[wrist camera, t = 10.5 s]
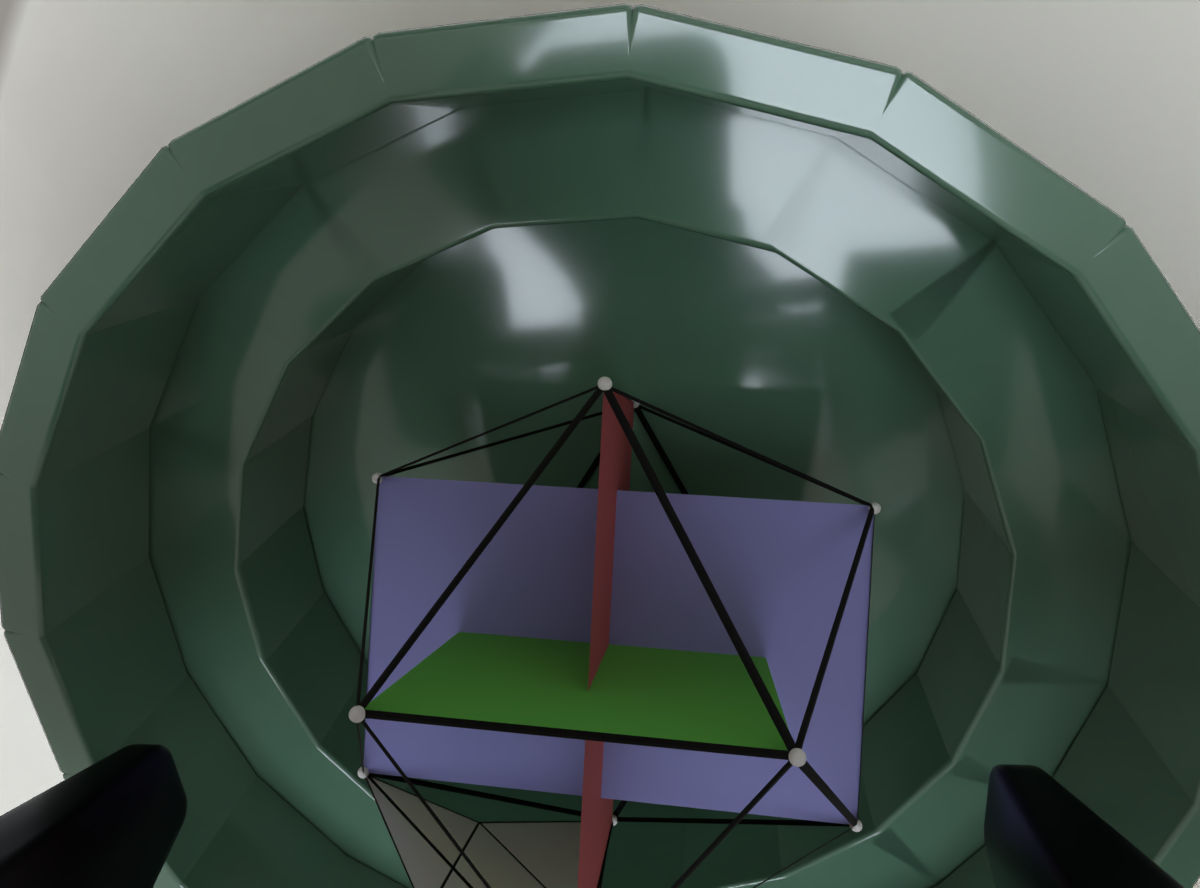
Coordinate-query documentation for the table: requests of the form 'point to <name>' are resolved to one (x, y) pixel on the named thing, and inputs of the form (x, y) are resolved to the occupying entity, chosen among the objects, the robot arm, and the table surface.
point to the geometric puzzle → (608, 657)
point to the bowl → (573, 365)
